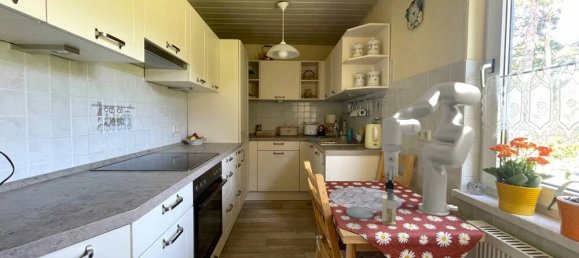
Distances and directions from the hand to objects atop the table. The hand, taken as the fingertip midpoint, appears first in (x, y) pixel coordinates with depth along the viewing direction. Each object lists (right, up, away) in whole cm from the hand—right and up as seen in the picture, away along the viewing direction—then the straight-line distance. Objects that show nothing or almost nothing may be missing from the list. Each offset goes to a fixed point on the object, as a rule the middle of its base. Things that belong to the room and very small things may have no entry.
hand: (389, 191), depth 110 cm
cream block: (+1, -12, +4) cm, 13 cm away
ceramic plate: (-10, -12, +8) cm, 17 cm away
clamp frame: (+1, -12, +4) cm, 13 cm away
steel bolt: (-3, -2, -9) cm, 10 cm away
